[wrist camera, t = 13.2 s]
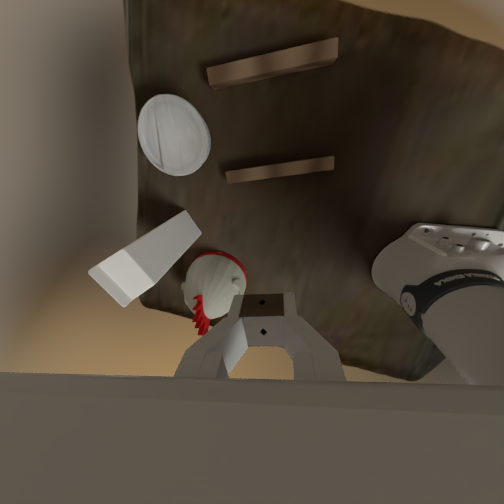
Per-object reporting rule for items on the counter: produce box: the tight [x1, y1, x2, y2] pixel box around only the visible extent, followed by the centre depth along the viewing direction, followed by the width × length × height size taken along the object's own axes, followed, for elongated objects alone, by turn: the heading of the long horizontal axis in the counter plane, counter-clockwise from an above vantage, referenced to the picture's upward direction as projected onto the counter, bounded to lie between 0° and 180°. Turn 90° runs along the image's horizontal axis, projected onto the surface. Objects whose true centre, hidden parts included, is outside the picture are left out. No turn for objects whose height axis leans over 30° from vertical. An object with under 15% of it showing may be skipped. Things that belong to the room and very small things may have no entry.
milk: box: [88, 210, 202, 307], centre depth 33 cm, size 6×6×22 cm
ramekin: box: [138, 94, 211, 176], centre depth 33 cm, size 11×11×5 cm
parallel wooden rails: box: [206, 37, 338, 184], centre depth 32 cm, size 18×16×2 cm
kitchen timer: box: [181, 251, 247, 336], centre depth 41 cm, size 14×14×15 cm
